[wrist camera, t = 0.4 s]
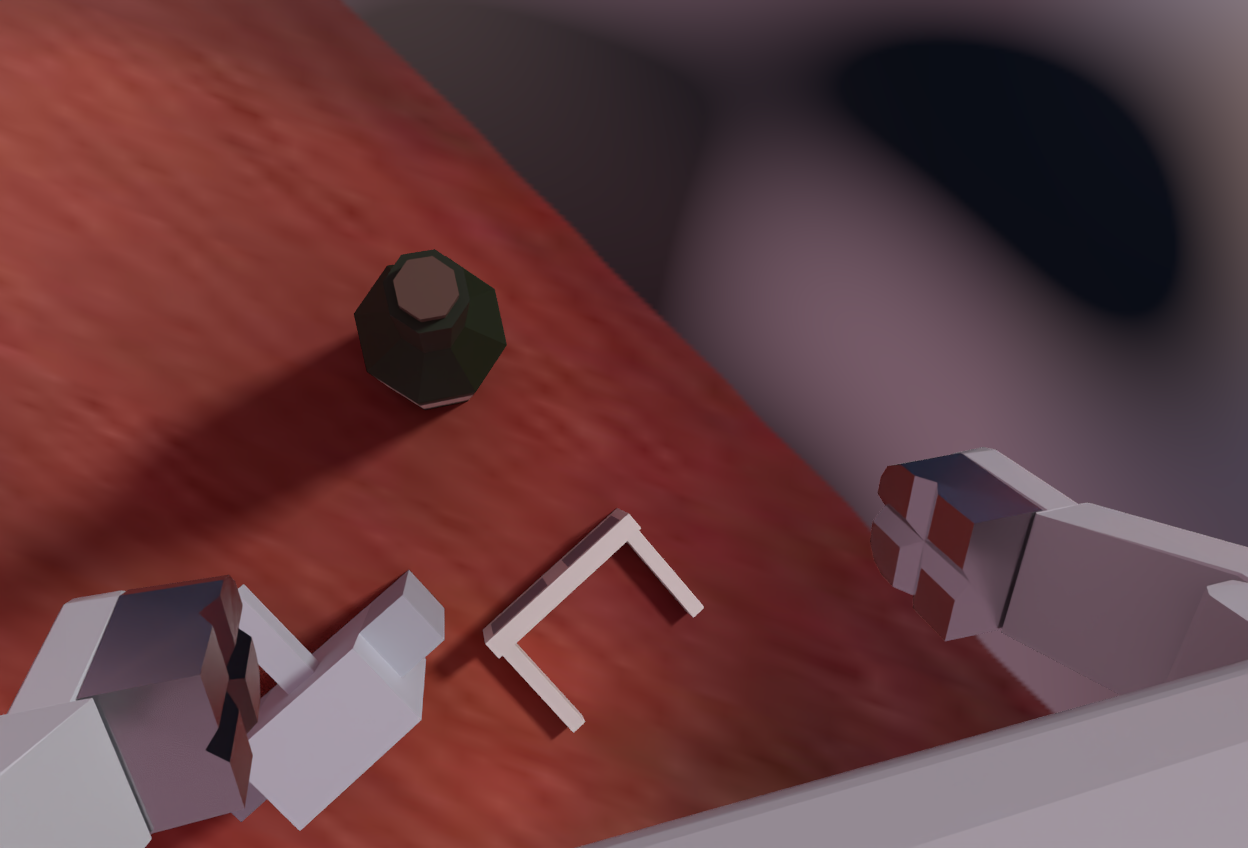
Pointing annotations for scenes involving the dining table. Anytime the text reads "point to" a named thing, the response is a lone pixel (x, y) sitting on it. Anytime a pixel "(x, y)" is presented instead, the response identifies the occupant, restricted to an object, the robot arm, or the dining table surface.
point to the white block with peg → (336, 697)
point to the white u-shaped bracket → (559, 586)
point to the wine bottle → (430, 330)
